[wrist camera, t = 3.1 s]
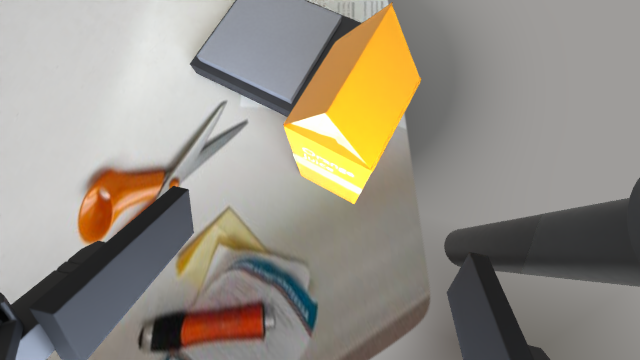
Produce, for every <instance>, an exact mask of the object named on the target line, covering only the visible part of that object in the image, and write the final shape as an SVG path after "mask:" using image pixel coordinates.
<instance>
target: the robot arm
mask: <svg viewBox="0 0 640 360" xmlns="http://www.w3.org/2000/svg"><path fill="white" fill-rule="evenodd" d="M193 233H194V231H193V222H192V214H191V206H190V198H189V190H188V189H185V188H180V187H176V186H173V187H172V188H170V189H169V190H168V191H167V192H166V193H164V194H163V195H162V196H161V197H160V198H159V199H157V200H156V201H155V202H154V203H153V204H151V205H150V206H149V207H148V208H147V209H145V210H144V211H143V212H142V213H141V214H140V215H138V216H137V217H136V218H135V219H134V220H132V221H131V222H130V223H129V224H128V225H126V226H125V227H124V228H123V229H122V230H120V231H119V232H118V233H117V234H116V235H115V236H113V237H112V238H111V239H110V240H109V241H107V242H106V243H105V242H101V241H97V242H95V243H93V244H91V245H89V246H87V247H84V248H82V249H81V250H80V251H78V252H77V253H76V254H75V255H73V256H72V257H71V258H70V259H69V260H68V262H65V263H63V264H62V265H61V266H60V267H58V269H57V270H56V271H53V272H52V273H51V274H49V275H48V276H47V277H46V278H44V279H43V280H42V281H41V282H39V283H38V284H37V285H36V286H34V287H33V288H32V289H31V290H29V291H28V292H27V293H26V294H24V295H23V296H22V297H20V298H19V299H18V300H17V301H15V302H14V303H13V304H11V305H10V303H9V302H8V300H7V299H6V298H5V296H4V295H3V294H2V293H0V360H48V359H47V358H48V357H49V356H50V354H51V353H52V352H53V351H54V350H56V352H57V353H58V355H59V356H60V358H61V359H62V360H87V359H88V358H89V357H90V356H91V354H92V353H93V352H94V351H95V350H96V348H97V347H98V346H99V345H100V344H101V342H102V341H103V340H104V339H105V338H106V337H107V335H108V334H109V333H110V332H111V331H112V329H113V328H114V327H115V326H116V325H117V323H118V322H119V321H120V320H121V319H122V318H123V316H124V315H125V314H126V313H127V312H128V310H129V309H130V308H131V307H132V306H133V304H134V303H135V302H136V301H137V300H138V299H139V297H140V296H141V295H142V294H143V293H144V291H145V290H146V289H147V288H148V287H149V285H150V284H151V283H152V282H153V281H154V280H155V278H156V277H157V276H158V275H159V274H160V272H161V271H162V270H163V269H164V268H165V266H166V265H167V264H168V263H169V262H170V261H171V259H172V258H173V257H174V256H175V255H176V253H177V252H178V251H179V250H180V249H181V247H182V246H183V245H184V244H185V243H186V242H187V240H188V239H189V238H190V237H191V236H192V234H193ZM447 295H448V300H449V303H450V308H451V312H452V315H453V320H454V324H455V328H456V332H457V336H458V340H459V345H460V349H461V353H462V357H463V360H550V359H549V357H548V356H547V355H546V354H545V353H544V351H543V350H542V349H541V348H538V347H534V346H529V345H527V343H526V340H525V338H524V336H523V334H522V331H521V329H520V327H519V325H518V323H517V320H516V318H515V316H514V314H513V311H512V309H511V307H510V305H509V302H508V300H507V298H506V296H505V294H504V292H503V289H502V287H501V285H500V283H499V280H498V278H497V276H496V274H495V271H494V269H493V267H492V265H491V262H490V260H489V258H488V256H485V255H480V254H476V253H471V252H470V253H469V254H468V256H467V258H466V260H465V261H464V263H463V265H462V267H461V268H460V270H459V272H458V274H457V275H456V277H455V279H454V281H453V283H452V284H451V286H450V288H449V289H448V291H447Z"/></svg>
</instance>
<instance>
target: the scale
mask: <svg viewBox="0 0 640 360" xmlns="http://www.w3.org/2000/svg"><path fill="white" fill-rule="evenodd" d="M360 24H362V23H360V22H358V21H355V20H353V19H350V18H348V17H345V16H343V15H341V14H338V13H336V12H333V11H331V10H328V9H326V8H323V7H321V6H319V5H316V4H314V3H311V2H309V1H306V0H236V1H235V2H234V3H233V5H232V6H231V8H230V9H229V10H228V12H227V13H226V14H225V16H224V17H223V19H222V20H221V21H220V23H219V24H218V26H217V27H216V28H215V30H214V31H213V32H212V34H211V35H210V37H209V38H208V39H207V41H206V42H205V44H204V45H203V46H202V48H201V49H200V50H199V52H198V53H197V55H196V56H195V57H194V59H193V60H192V62H191V63H190V65H191V66H192V68H193V69H194V70H195V72H196V73H198V74H200V75H202V76H204V77H206V78H208V79H210V80H212V81H214V82H217V83H219V84H221V85H223V86H225V87H227V88H229V89H231V90H233V91H235V92H237V93H239V94H242V95H244V96H246V97H248V98H250V99H252V100H254V101H256V102H258V103H260V104H262V105H264V106H267V107H269V108H271V109H273V110H275V111H277V112H279V113H281V114H283V115H285V116H287V117H288V116H289V115H290V113H291V111H292V110H293V108H294V107H295V105H296V103H297V102H298V100H299V99H300V97H301V96H302V94H303V92H304V91H305V89H306V88H307V86H308V84H309V83H310V81H311V80H312V78H313V77H314V75H315V73H316V72H317V70H318V69H319V67H320V65H321V64H322V62H323V61H324V59H325V58H326V56H327V54H328V53H329V51H330V50H331V48H332V46H333V45H334V43H335V42H336V41H337V40H339V39H340V38H341V37H343V36H344V35H346V34H347V33H349V32H350V31H352V30H353V29H354V28H356V27H357V26H359V25H360Z"/></svg>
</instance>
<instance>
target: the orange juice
mask: <svg viewBox="0 0 640 360" xmlns="http://www.w3.org/2000/svg"><path fill="white" fill-rule="evenodd" d="M420 82H421V78H420V77H419V75H418V72H417V69H416V67H415V64H414V62H413V59H412V57H411V54H410V51H409V48H408V46H407V43H406V40H405V38H404V35H403V33H402V30H401V27H400V24H399V22H398V19H397V17H396V14H395V11H394V9H393V6H392V3H391V4H389V5H388V6H386V7H385V8H383V9H382V10H381V11H379V12H378V13H376V14H375V15H373V16H372V17H370V18H369V19H368V20H366V21H365V22H363V23H362V24H360V25H359V26H357V27H356V28H354V29H353V30H352V31H350V32H349V33H347V34H346V35H344V36H343V37H341V38H340V39H339V40H337V41H336V42H335V43H334V45H333V46H332V48H331V50H330V51H329V53H328V54H327V56H326V58H325V59H324V61H323V62H322V64H321V65H320V67H319V69H318V70H317V72H316V73H315V75H314V77H313V78H312V80H311V81H310V83H309V84H308V86H307V88H306V89H305V91H304V92H303V94H302V96H301V97H300V99H299V100H298V102H297V103H296V105H295V107H294V108H293V110H292V111H291V113H290V115H289V116H288V118H287V119H286V121H285V122H284V124H283V125H284V129H285V131H286V134H287V137H288V140H289V143H290V145H291V148H292V151H293V156H294V158H295V161H296V162H297V165H298V168H299V171H300V174H301V176H303V177H305V178H307V179H308V180H310V181H312V182H314V183H316V184H318V185H320V186H321V187H323V188H325V189H327V190H329V191H331V192H333V193H334V194H336V195H338V196H340V197H342V198H344V199H346V200H348V201H349V202H351V203H353V204H355V202H356V200H357V198H358V196H359V195H360V193H361V191H362V189H363V188H364V186H365V184H366V182H367V180H368V178H369V176H370V174H371V173H372V172H373V170H374V168H375V166H376V165H377V163H378V161H379V159H380V157H381V155H382V153H383V151H384V150H385V148H386V146H387V144H388V142H389V140H390V138H391V136H392V135H393V133H394V131H395V129H396V127H397V125H398V123H399V121H400V120H401V118H402V116H403V114H404V112H405V110H406V108H407V106H408V104H409V103H410V101H411V99H412V97H413V95H414V93H415V91H416V89H417V88H418V86H419V84H420Z"/></svg>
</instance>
